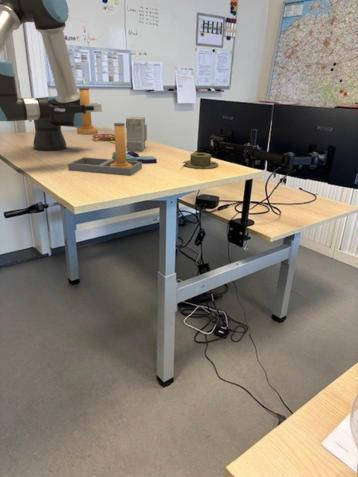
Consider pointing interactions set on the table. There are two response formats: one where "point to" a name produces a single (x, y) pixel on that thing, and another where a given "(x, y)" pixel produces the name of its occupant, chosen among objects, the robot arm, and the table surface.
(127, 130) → the circuit breaker
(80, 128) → the orange joystick peg
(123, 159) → the orange capped peg
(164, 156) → the table surface
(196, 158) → the flange
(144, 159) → the pistol
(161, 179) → the table surface
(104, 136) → the mechanical gear assembly
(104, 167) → the tray
